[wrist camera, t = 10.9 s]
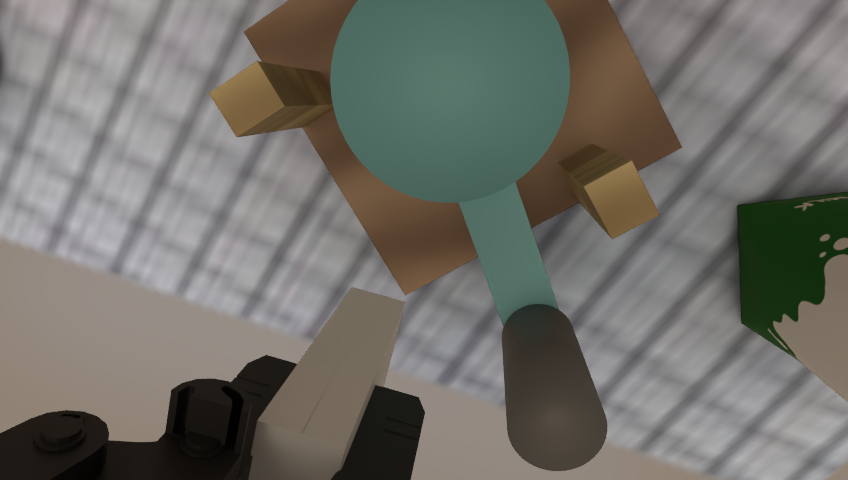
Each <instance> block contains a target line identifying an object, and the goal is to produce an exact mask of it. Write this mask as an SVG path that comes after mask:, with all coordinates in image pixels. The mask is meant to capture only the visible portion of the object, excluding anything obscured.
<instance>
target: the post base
mask: <svg viewBox="0 0 848 480" xmlns="http://www.w3.org/2000/svg"><path fill="white" fill-rule="evenodd" d="M357 1H358V0H289V1H287V2H286V3H285V4H283V5H282V6H280V7H279V8H277V9H276V10H274V11H273V12H271V13H270V14H269V15H267V16H266V17H264V18H263V19H261V20H260V21H258V22H257V23H256V24H254V25H253V26H251V27H250V28H248V29H247V30H245V31H244V33H245V35H246V36H247V38H248V40H249V41H250V43H251V45H252V46H253V48H254V49H255V51H256V53H257V54H258V56H259V58H260V59H261V61H262V62H259V61H256V62H255V63H253V64H252V65H250V66H249V67H248V68H246V69H245V70H243V71H242V72H240V73H239V74H237V75H236V76H234V77H233V78H231V79H230V80H228V81H227V82H225V83H224V84H222V85H221V86H219V87H218V88H216V89H215V90H213V91H212V92H210V93H209V94H210V96H211V97H212V99H213V100H214V102H215V104H216V105H217V107H218V108H219V110H220V111H221V113H222V115H223V116H224V118H225V119H226V121H227V123H228V124H229V126H230V127H231V129H232V130H233V132H234V134H235V135H236V137H242V136H248V135H255V134H261V133H268V132H275V131H281V130H288V129H294V128H301V127H302V128H303V129H304V131H305V133H306V134H307V136H308V138H309V139H310V141H311V143H312V144H313V146H314V147H315V149H316V151H317V152H318V154H319V156H320V157H321V159H322V160H323V162H324V164H325V165H326V167H327V169H328V170H329V172H330V174H331V175H332V177H333V178H334V180H335V182H336V183H337V185H338V187H339V188H340V190H341V192H342V193H343V195H344V196H345V198H346V200H347V201H348V203H349V205H350V206H351V208H352V209H353V211H354V213H355V214H356V216H357V218H358V219H359V221H360V223H361V224H362V226H363V227H364V229H365V231H366V232H367V234H368V236H369V237H370V239H371V241H372V242H373V244H374V245H375V247H376V249H377V250H378V252H379V254H380V255H381V257H382V258H383V260H384V262H385V263H386V265H387V267H388V268H389V270H390V272H391V273H392V275H393V276H394V278H395V280H396V281H397V283H398V285H399V286H400V288H401V289H402V291H403V293H404V294H405V295H407V294H409V293H411V292H413V291H415V290H416V289H418V288H420V287H422V286H424V285H426V284H428V283H430V282H431V281H433V280H435V279H437V278H439V277H441V276H443V275H444V274H446V273H448V272H450V271H452V270H454V269H456V268H458V267H459V266H461V265H463V264H465V263H467V262H469V261H471V260H472V259H474V258H476V257H478V255H477V252H476V249H475V246H474V244H473V241H472V238H471V235H470V233H469V230H468V227H467V224H466V221H465V219H464V216H463V213H462V210H461V208H460V205H459V202H447V203H442V202H434V201H427V200H423V199H419V198H415V197H412V196H409V195H407V194H404V193H402V192H399V191H397V190H395V189H394V188H392V187H390V186H388V185H386V184H385V183H384V182H382V181H381V180H380V179H378V178H377V177H375V176H374V175H373V174H372V173H371V172H370V171H369V170H368V169H367V168H366V167H365V166H364V165H363V164H362V163H361V162H360V161H359V159H358V158H357V157H356V156H355V154H354V153H353V152H352V150H351V148H350V147H349V145H348V144H347V142H346V140H345V138H344V136H343V134H342V132H341V130H340V128H339V125H338V122H337V119H336V116H335V112H334V108H333V103H332V97H331V84H330V76H331V63H332V57H333V52H334V47H335V44H336V41H337V38H338V35H339V32H340V30H341V28H342V26H343V23H344V21H345V19H346V17H347V16H348V14H349V13H350V11H351V9H352V8H353V6H354V5H355V3H356V2H357ZM545 2H546V3H547V5H548V6H549V7H550V9H551V10H552V12H553V14H554V16H555V18H556V20H557V21H558V23H559V26H560V28H561V31H562V34H563V36H564V39H565V43H566V47H567V51H568V56H569V65H570V90H569V96H568V103H567V107H566V111H565V114H564V117H563V121H562V123H561V125H560V128H559V130H558V132H557V135H556V137H555V138H554V140H553V142H552V143H551V145H550V147H549V148H548V150H547V151H546V152H545V154H544V155H543V156H542V158H541V159H540V160H539V161H538V162H537V163H536V164H535V165H534V166H533V167H532V168H531V169H530V170H529V171H528V172H527V173H526V174H525V175H524V176H522V177H521V178H520V179H518V180H517V181H516V185H517V188H518V191H519V194H520V197H521V200H522V203H523V206H524V209H525V212H526V215H527V217H528V220H529V223H530V226H531V228H532V227H534V226H536V225H538V224H540V223H542V222H543V221H545V220H547V219H549V218H551V217H553V216H555V215H557V214H558V213H560V212H562V211H564V210H566V209H568V208H570V207H571V206H573V205H575V204H577V203H579V202H580V203H581V205H582V206H583V207H584V208H585V209H586V210H587V211H588V212H589V214H590V215H591V216H592V217H593V218H594V219H595V220H596V221H597V223H598V224H599V225H600V226H601V227H602V228H603V229H604V230H605V232H606V233H607V234H608V235H609V236H610V237H611V238H612V239H613V238H615V237H617V236H619V235H621V234H623V233H625V232H627V231H629V230H631V229H633V228H635V227H637V226H639V225H641V224H643V223H645V222H646V221H648V220H650V219H652V218H654V217H656V216H658V215H660V214H659V212H658V210H657V208H656V206H655V204H654V202H653V200H652V199H651V197H650V195H649V193H648V191H647V189H646V187H645V185H644V183H643V181H642V179H641V177H640V176H639V174H638V172H637V171H639V170H641V169H642V168H644V167H646V166H648V165H650V164H652V163H654V162H655V161H657V160H659V159H661V158H663V157H665V156H667V155H669V154H670V153H672V152H674V151H676V150H678V149H680V148H682V146H681V144H680V142H679V140H678V138H677V136H676V134H675V132H674V130H673V128H672V126H671V124H670V122H669V121H668V119H667V117H666V115H665V113H664V111H663V109H662V107H661V105H660V103H659V101H658V99H657V97H656V95H655V93H654V91H653V89H652V87H651V85H650V83H649V81H648V79H647V77H646V75H645V73H644V71H643V69H642V67H641V65H640V63H639V61H638V59H637V57H636V55H635V53H634V51H633V49H632V47H631V45H630V43H629V41H628V39H627V37H626V35H625V33H624V32H623V30H622V28H621V26H620V24H619V22H618V20H617V18H616V16H615V14H614V12H613V10H612V8H611V6H610V4H609V2H608V0H545Z"/></svg>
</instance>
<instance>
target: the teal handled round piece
mask: <svg viewBox="0 0 848 480" xmlns="http://www.w3.org/2000/svg"><path fill="white" fill-rule="evenodd" d="M330 84H331V97H332V103H333V108H334V112H335V116H336V119H337V122H338V125H339V128H340V130H341V132H342V134H343V136H344V138H345V140H346V142H347V144H348V145H349V147H350V148H351V150H352V152H353V153H354V154H355V156H356V157H357V158H358V159H359V161H360V162H361V163H362V164H363V165H364V166H365V167H366V168H367V169H368V170H369V171H370V172H371V173H372V174H373V175H374V176H375V177H377V178H378V179H380V180H381V181H382V182H384V183H385V184H386V185H388V186H390V187H392V188H394V189H395V190H397V191H399V192H402V193H404V194H407V195H409V196H412V197H415V198H419V199H423V200H427V201H434V202H442V203H447V202H459V205H460V208H461V210H462V213H463V216H464V219H465V221H466V224H467V227H468V230H469V233H470V235H471V238H472V241H473V244H474V246H475V249H476V252H477V255H478V257H479V260H480V263H481V266H482V268H483V271H484V274H485V277H486V279H487V282H488V285H489V288H490V291H491V293H492V296H493V299H494V302H495V304H496V307H497V310H498V313H499V315H500V318H501V321H502V324H503V326H504V328H503V331H502V348H503V365H504V382H505V399H506V416H507V430H508V436H509V439H510V441H511V444H512V446H513V448H514V449H515V451H516V452H517V453H518V454H519V455H520V456H521V457H522V458H523V459H524V460H525V461H527V462H529V463H530V464H532V465H534V466H536V467H538V468H542V469H545V470H551V471H565V470H570V469H574V468H577V467H579V466H582V465H584V464H585V463H587V462H589V461H590V460H591V459H592V458H594V457H595V455H596V454H597V453H598V452H599V451H600V449H601V448H602V446H603V444H604V441H605V439H606V434H607V420H606V416H605V413H604V410H603V408H602V405H601V402H600V399H599V397H598V394H597V391H596V389H595V386H594V383H593V381H592V378H591V375H590V373H589V370H588V367H587V365H586V362H585V359H584V356H583V354H582V351H581V348H580V346H579V343H578V340H577V338H576V335H575V332H574V330H573V327H572V325H571V322H570V321H569V319H568V318H567V317H566V315H564V314H563V313H562V312H561V311H560V310H559V308H558V305H557V303H556V300H555V297H554V294H553V291H552V288H551V285H550V282H549V279H548V276H547V273H546V270H545V267H544V264H543V261H542V259H541V256H540V253H539V250H538V247H537V244H536V241H535V238H534V235H533V232H532V229H531V226H530V223H529V220H528V217H527V215H526V212H525V209H524V206H523V203H522V200H521V197H520V194H519V191H518V188H517V185H516V181H517V180H518V179H520V178H521V177H522V176H524V175H525V174H526V173H527V172H528V171H529V170H530V169H531V168H532V167H533V166H534V165H535V164H536V163H537V162H538V161H539V160H540V159H541V158H542V156H543V155H544V154H545V152H546V151H547V150H548V148H549V147H550V145H551V143H552V142H553V140H554V138H555V137H556V135H557V132H558V130H559V128H560V125H561V123H562V121H563V117H564V114H565V111H566V107H567V103H568V96H569V90H570V65H569V56H568V51H567V47H566V43H565V39H564V36H563V34H562V31H561V28H560V26H559V23H558V21H557V20H556V18H555V16H554V14H553V12H552V10H551V9H550V7H549V6H548V5H547V3H546V2H545V0H358V1H357V2H356V3H355V5H354V6H353V8H352V9H351V11H350V13H349V14H348V16H347V17H346V19H345V21H344V23H343V26H342V28H341V30H340V32H339V35H338V38H337V41H336V44H335V47H334V52H333V57H332V63H331V76H330Z"/></svg>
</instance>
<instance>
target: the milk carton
mask: <svg viewBox="0 0 848 480" xmlns="http://www.w3.org/2000/svg"><path fill="white" fill-rule="evenodd" d="M738 233H739V262H740V290H741V320H742V324H744V325H745V326H747V327H748V328H750V329H751V330H753V331H754V332H756V333H757V334H759V335H761V336H762V337H764V338H765V339H767V340H768V341H770V342H771V343H773V344H774V345H776V346H777V347H779V348H781V349H782V350H784V351H785V352H787V353H788V354H790V355H791V356H793V357H794V358H796V359H797V360H798V361H799V362H801V363H802V364H803V365H804V366H805V367H807V368H808V369H809V370H810V371H811V372H812V373H814V374H815V375H816V376H817V377H818V378H820V379H821V380H822V381H823V382H824V383H826V384H827V385H828V386H829V387H830V388H832V389H833V390H834V391H835V392H836V393H838V394H839V395H840V396H841V397H842V398H843V399H845V400H846V401H847V402H848V192H843V193H834V194H826V195H818V196H810V197H802V198H794V199H785V200H777V201H769V202H761V203H753V204H745V205H738Z"/></svg>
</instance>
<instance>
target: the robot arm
mask: <svg viewBox="0 0 848 480" xmlns="http://www.w3.org/2000/svg"><path fill="white" fill-rule="evenodd" d="M404 306H405V302H403V301H400V300H396V299H392V298H389V297H385V296H382V295H378V294H375V293H371V292H368V291H364V290H360V289H357V288H353V287H352V288H351V289H350V291H349V292H348V294H347V295H346V296H345V298H344V299H343V301H342V302H341V303H340V305H339V306H338V308H337V309H336V310H335V312H334V313H333V315H332V316H331V318H330V319H329V320H328V322H327V323H326V325H325V326H324V327H323V329H322V330H321V332H320V333H319V334H318V336H317V337H316V339H315V340H314V341H313V343H312V344H311V346H310V347H309V348H308V350H307V351H306V353H305V354H304V356H303V357H302V358H301V360H300V361H299V363H298V364H295V363H292V362H289V361H285V360H282V359H278V358H275V357H271V356H268V355H265V356H263V357H261V358H259V359H256V360H254V361H252V362H250V363H248V364H247V365H246V366H245V367H244V368H243V370H242V371H241V372H240V373H239V374H238V375H237V378H234V380H233V381H232V382H228V381H223V380H218V379H196V380H192V381H188V382H185V383H182V384H180V385H178V386H177V387H175V388H174V389H172V391H171V397H170V404H169V411H168V418H167V425H166V431H165V433H164V435H162V437H161V438H160V439H159V440H158V441H156V442H124V441H108V438H109V432H108V428H107V424H106V423H105V422H103V421H102V420H101V419H100V418H99V417H97V416H95V415H92V414H88V413H86V412H81V411H67V410H66V411H58V412H51V413H46V414H43V415H40V416H37V417H34V418H31V419H29V420H27V421H25V422H23V423H21V424H19V425H17V426H15V427H12V428H10V429H8V430H6V431H4V432H2V433H0V480H410V479H411V475H412V470H413V465H414V461H415V456H416V451H417V447H418V442H419V438H420V433H421V428H422V424H423V419H424V415H425V412H424V409H423V407H422V404H421V402H420V400H419V397H415V396H412V395H409V394H405V393H402V392H398V391H395V390H392V389H388V388H385V387H384V383H385V379H386V375H387V371H388V368H389V364H390V360H391V356H392V352H393V348H394V345H395V341H396V337H397V333H398V329H399V325H400V321H401V318H402V314H403V310H404Z"/></svg>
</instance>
